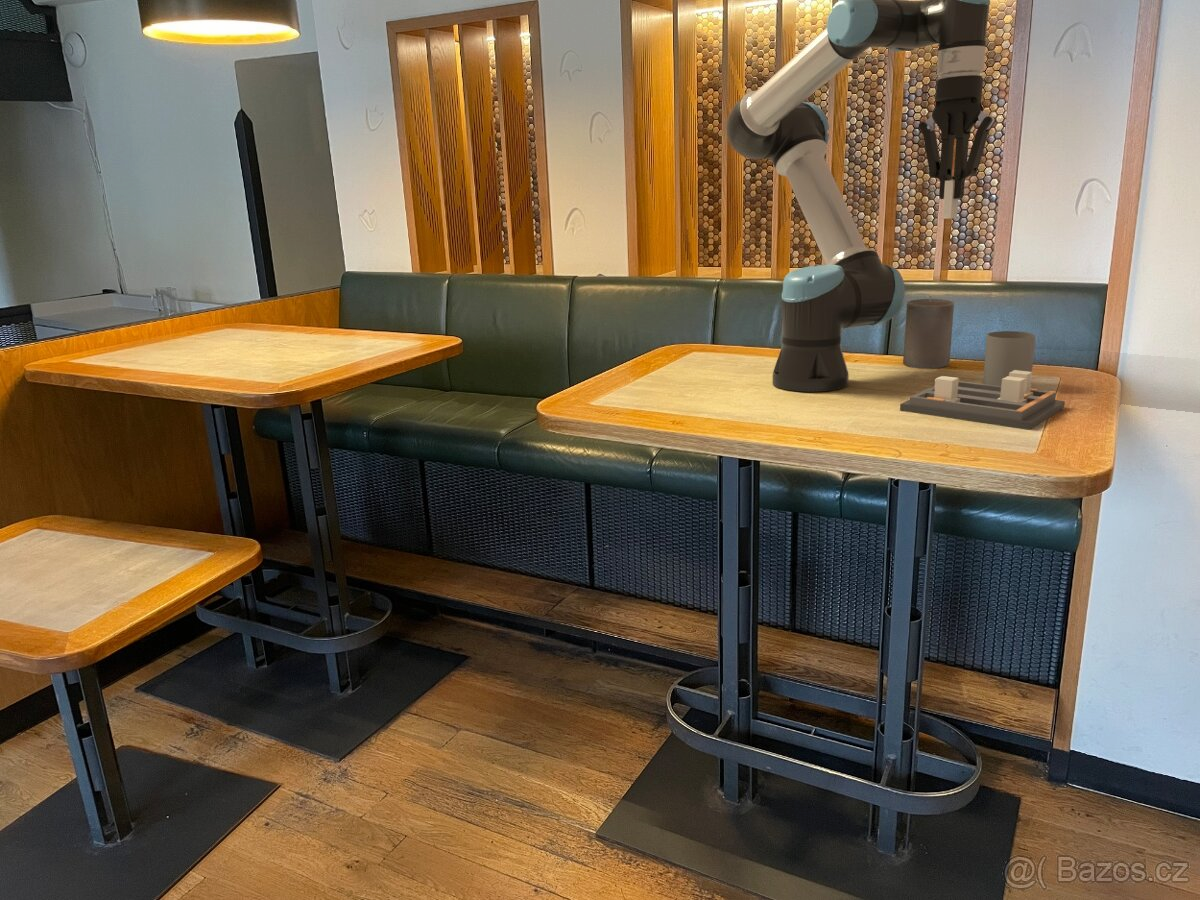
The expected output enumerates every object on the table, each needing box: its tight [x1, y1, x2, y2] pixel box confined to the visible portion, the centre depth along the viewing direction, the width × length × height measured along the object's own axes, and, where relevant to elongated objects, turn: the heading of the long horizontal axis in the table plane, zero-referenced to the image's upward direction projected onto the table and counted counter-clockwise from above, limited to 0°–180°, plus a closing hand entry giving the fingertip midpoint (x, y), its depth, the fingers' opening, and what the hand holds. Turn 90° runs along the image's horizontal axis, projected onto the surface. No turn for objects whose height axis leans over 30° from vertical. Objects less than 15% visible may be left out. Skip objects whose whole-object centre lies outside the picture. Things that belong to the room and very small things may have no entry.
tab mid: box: [998, 376, 1027, 403], centre depth 148 cm, size 4×3×5 cm
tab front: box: [933, 375, 960, 402], centre depth 151 cm, size 4×3×5 cm
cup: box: [982, 330, 1036, 386], centre depth 167 cm, size 8×8×10 cm
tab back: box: [1009, 370, 1033, 396], centre depth 152 cm, size 4×3×5 cm
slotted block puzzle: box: [899, 380, 1066, 431], centre depth 152 cm, size 22×17×3 cm
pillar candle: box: [902, 295, 956, 370], centre depth 188 cm, size 10×10×15 cm
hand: (949, 218), depth 155 cm, fingers closed
